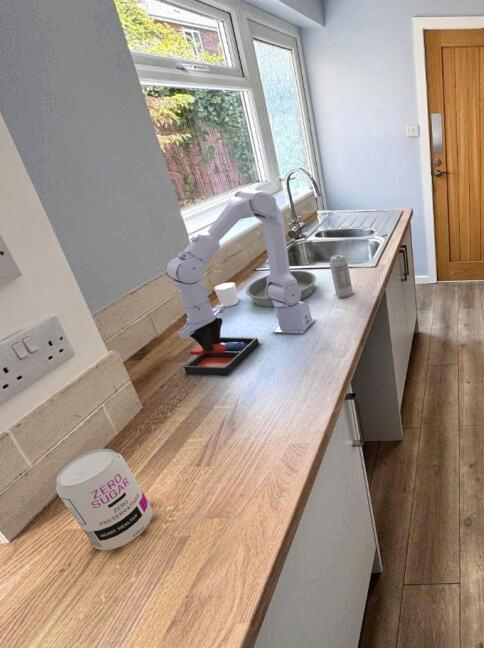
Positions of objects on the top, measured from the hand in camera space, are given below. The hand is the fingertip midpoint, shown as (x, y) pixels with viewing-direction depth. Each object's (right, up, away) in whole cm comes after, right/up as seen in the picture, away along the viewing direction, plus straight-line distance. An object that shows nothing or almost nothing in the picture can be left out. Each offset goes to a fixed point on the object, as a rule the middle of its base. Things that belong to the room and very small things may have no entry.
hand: (212, 347), depth 109 cm
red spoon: (-1, -1, +1) cm, 2 cm away
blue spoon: (0, -2, +9) cm, 9 cm away
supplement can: (+10, -25, -40) cm, 48 cm away
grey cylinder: (+23, +14, +41) cm, 49 cm away
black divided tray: (0, -4, +6) cm, 7 cm away
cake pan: (0, +14, +44) cm, 46 cm away
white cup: (-18, +10, +39) cm, 45 cm away
